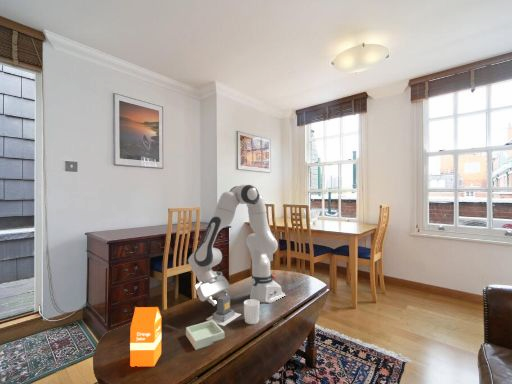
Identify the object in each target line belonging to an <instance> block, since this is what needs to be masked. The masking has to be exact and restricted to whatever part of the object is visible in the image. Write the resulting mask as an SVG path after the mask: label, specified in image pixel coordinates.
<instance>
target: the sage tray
mask: <svg viewBox="0 0 512 384" xmlns="http://www.w3.org/2000/svg"><path fill="white" fill-rule="evenodd" d="M225 334H226V333H225V331H224V330H223V329H222V327H220V325H219V324H217V323H215V322H214V321H213V320H211V321H208V320H206V321H204V322H200V323H197V324H193V325H190V326H187V327H185V336H186V338H187V339H188V341H189V343H190V344H191V345H192V347H193V348H194V350H196V351H197V350H200V349H203V348H206V347H209V346H211V345H215V344H216V343H215V342H217V341H220V340H223V339H225V337H226V336H225Z"/></svg>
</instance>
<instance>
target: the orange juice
mask: <svg viewBox="0 0 512 384" xmlns="http://www.w3.org/2000/svg"><path fill="white" fill-rule="evenodd" d="M129 338H130V339H129V340H130V341H129V345H130V346H129V348H130V349H129V350H130V354H129V355H130V357H129V358H130V361H129V363H130V364H129V366H131V367H135V366H137V367H155V365H156V364H157V362H158V360H159V358H160V357H161V355H162V315H161V312H160V309H159V306H151V307H150V306H148V307H147V306H146V307H144V306H142V307H141V306H140V307H138V306H137V307H136V306H135V307H134V313H133V317H132V320H131V324H130V336H129ZM131 367H130V368H131ZM135 368H136V367H135Z"/></svg>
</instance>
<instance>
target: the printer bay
mask: <svg viewBox="0 0 512 384" xmlns="http://www.w3.org/2000/svg"><path fill="white" fill-rule="evenodd" d="M241 315H242V314H241V313H238V312H235V310H234V309H231V308H230V312H229V313H228V314H226V315H224V316H222V315H219V314H217V310H216V311H215V312H213V313H212V315H211V316H209V317H207V318H205V320H206V321H211V320H213V321H214V322H215V323H216V324H217V325H219V326H223V327H225V326H226V325H227V324H230V323H231V322H232V321H234V320H236V319H237V318H238V317H240V316H241Z"/></svg>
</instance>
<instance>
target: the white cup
mask: <svg viewBox="0 0 512 384" xmlns="http://www.w3.org/2000/svg"><path fill="white" fill-rule="evenodd" d="M260 303H261V302H259V301H258V300H255V299H250V298H249V299H246V300H244V301H243V312H244V315H243V316H244V322H245V323H246V324H249V325H255V324H257V323H259V319H260V307H261V306H260Z"/></svg>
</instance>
